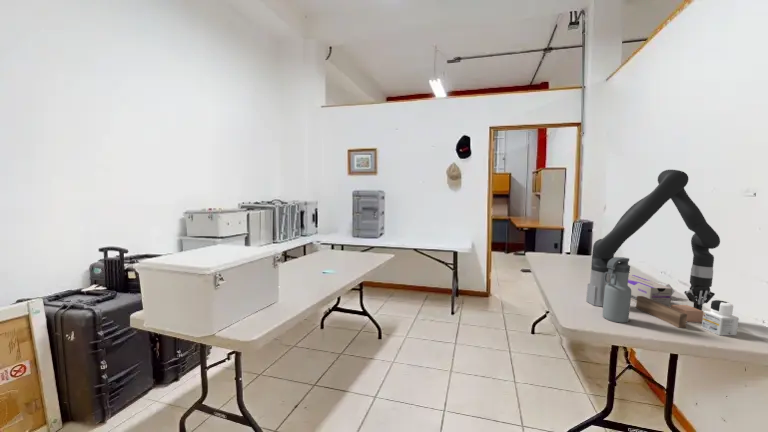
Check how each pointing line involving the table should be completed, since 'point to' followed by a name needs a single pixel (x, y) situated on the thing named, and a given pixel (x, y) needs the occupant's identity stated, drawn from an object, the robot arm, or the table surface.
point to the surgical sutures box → (649, 290)
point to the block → (690, 312)
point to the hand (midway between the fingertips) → (697, 311)
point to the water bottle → (617, 291)
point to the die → (667, 286)
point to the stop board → (662, 311)
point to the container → (720, 319)
